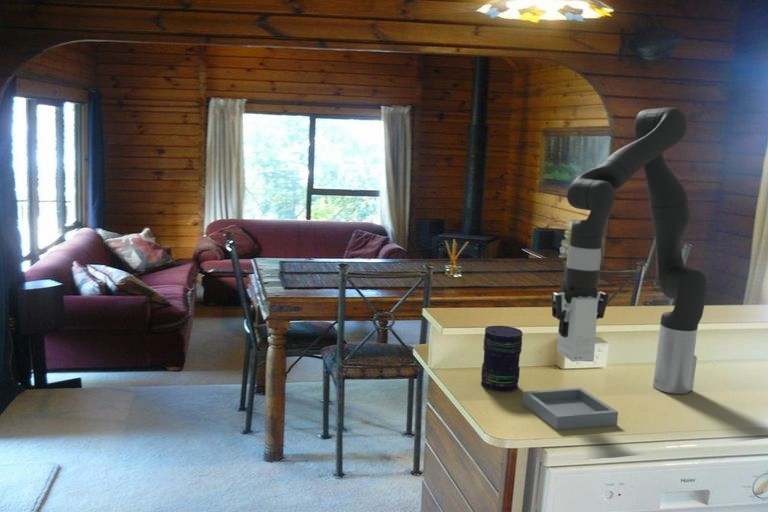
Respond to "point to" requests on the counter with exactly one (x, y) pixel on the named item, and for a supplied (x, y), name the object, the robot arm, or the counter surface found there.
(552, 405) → the tray
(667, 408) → the counter surface
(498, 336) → the dark blue barrel
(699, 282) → the robot arm
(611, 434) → the counter surface
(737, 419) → the counter surface
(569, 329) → the skincare box
